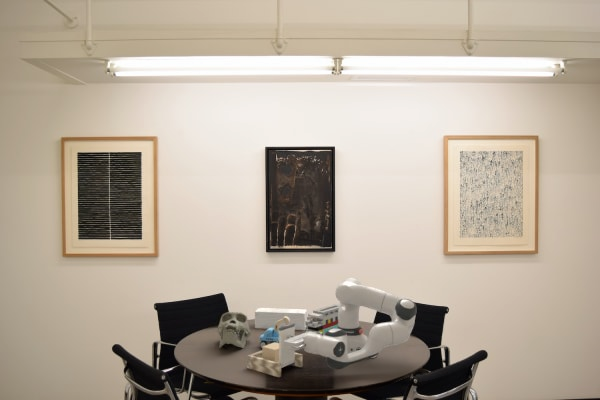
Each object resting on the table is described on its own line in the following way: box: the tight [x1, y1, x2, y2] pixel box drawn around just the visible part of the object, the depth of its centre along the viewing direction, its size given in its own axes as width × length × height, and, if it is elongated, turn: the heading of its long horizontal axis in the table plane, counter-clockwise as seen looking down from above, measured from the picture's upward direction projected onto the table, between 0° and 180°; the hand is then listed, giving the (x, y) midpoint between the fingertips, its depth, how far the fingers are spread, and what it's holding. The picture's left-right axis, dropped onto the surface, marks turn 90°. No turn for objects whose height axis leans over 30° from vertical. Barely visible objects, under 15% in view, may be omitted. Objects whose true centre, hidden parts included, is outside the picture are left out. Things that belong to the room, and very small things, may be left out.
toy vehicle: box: [304, 303, 340, 336], centre depth 293 cm, size 8×30×15 cm, turn 141°
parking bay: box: [246, 350, 304, 378], centre depth 236 cm, size 20×18×6 cm
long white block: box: [254, 307, 308, 331], centre depth 309 cm, size 32×11×11 cm, turn 81°
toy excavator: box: [259, 316, 290, 349], centre depth 267 cm, size 9×17×17 cm, turn 78°
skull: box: [217, 311, 252, 349], centre depth 271 cm, size 18×21×28 cm
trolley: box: [261, 323, 296, 369], centre depth 235 cm, size 14×12×22 cm
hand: (288, 337), depth 230 cm, fingers closed
